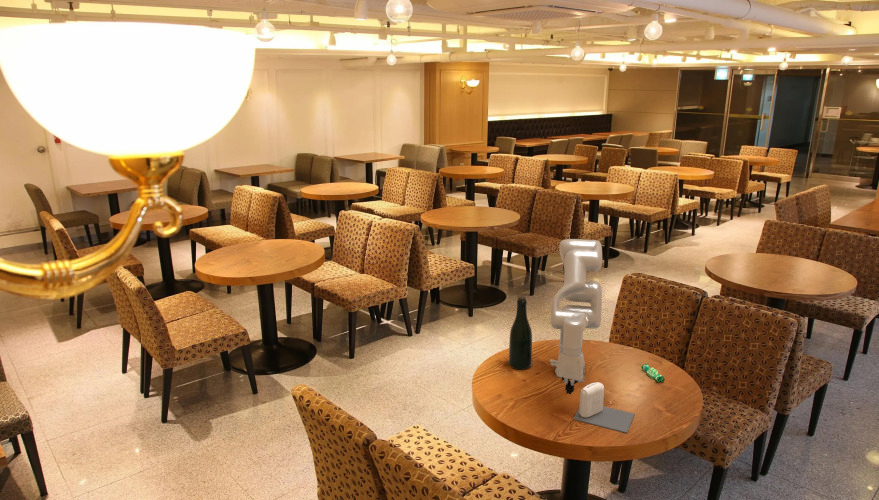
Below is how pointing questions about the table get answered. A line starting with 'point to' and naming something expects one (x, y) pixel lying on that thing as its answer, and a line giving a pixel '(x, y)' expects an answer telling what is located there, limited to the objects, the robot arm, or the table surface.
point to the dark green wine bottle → (520, 338)
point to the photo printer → (591, 399)
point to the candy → (652, 373)
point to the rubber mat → (608, 419)
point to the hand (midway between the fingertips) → (569, 392)
